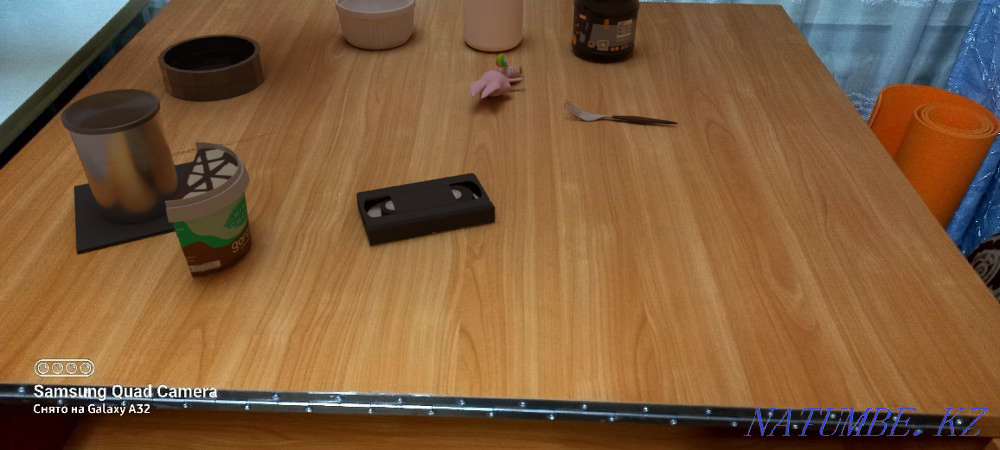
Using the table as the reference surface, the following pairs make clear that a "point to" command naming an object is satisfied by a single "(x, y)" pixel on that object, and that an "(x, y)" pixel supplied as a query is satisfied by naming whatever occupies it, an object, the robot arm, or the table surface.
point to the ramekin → (376, 22)
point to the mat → (104, 233)
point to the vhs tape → (424, 208)
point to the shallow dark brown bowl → (212, 67)
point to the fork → (613, 116)
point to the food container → (212, 211)
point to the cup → (492, 24)
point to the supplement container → (604, 29)
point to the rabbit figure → (497, 79)
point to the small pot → (124, 153)
